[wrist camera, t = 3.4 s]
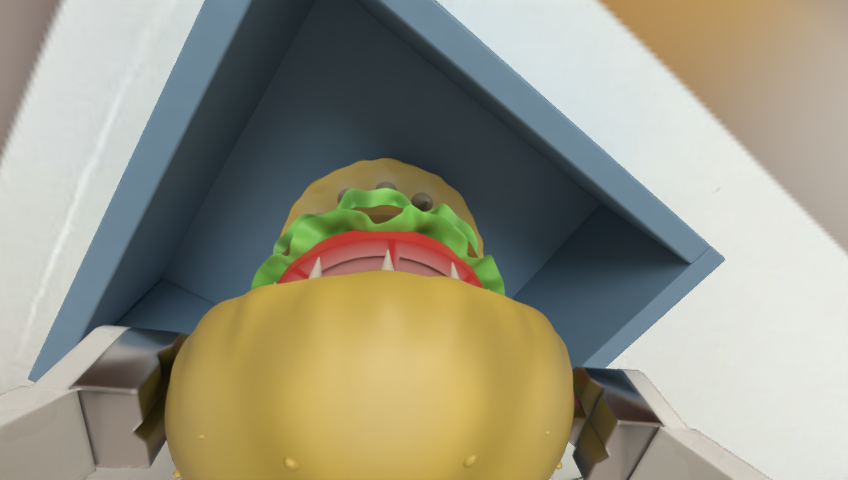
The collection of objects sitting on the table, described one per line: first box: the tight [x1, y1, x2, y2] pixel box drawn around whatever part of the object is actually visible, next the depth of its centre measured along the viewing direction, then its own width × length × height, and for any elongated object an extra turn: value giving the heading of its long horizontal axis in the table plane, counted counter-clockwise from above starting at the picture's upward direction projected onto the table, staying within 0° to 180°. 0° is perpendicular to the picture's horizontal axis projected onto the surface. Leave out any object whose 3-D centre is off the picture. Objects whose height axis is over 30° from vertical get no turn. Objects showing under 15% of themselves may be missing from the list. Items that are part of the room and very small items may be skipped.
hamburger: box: [165, 158, 574, 480], centre depth 10 cm, size 8×7×12 cm
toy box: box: [28, 0, 725, 382], centre depth 13 cm, size 13×13×6 cm
